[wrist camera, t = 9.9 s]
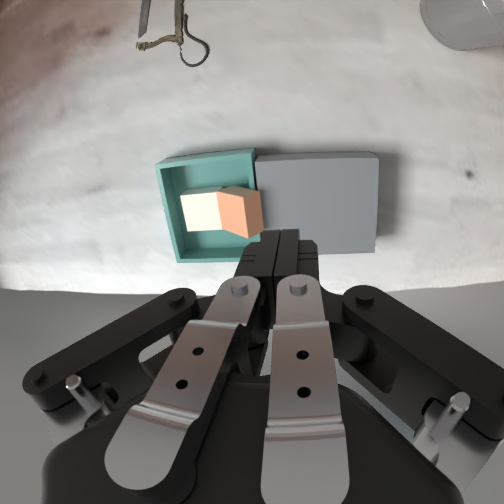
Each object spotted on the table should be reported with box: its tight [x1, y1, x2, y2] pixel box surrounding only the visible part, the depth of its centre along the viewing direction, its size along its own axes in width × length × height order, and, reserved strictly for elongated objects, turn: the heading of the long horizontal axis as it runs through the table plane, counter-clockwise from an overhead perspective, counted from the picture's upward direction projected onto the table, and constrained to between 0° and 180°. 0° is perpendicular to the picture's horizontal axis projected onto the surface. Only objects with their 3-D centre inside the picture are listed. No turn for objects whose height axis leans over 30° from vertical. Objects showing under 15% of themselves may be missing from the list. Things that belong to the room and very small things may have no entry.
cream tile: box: [180, 186, 223, 231], centre depth 39 cm, size 5×5×2 cm
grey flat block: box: [255, 152, 379, 255], centre depth 36 cm, size 14×12×4 cm
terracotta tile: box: [216, 186, 264, 239], centre depth 36 cm, size 5×5×2 cm
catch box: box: [155, 148, 262, 263], centre depth 39 cm, size 12×14×4 cm
